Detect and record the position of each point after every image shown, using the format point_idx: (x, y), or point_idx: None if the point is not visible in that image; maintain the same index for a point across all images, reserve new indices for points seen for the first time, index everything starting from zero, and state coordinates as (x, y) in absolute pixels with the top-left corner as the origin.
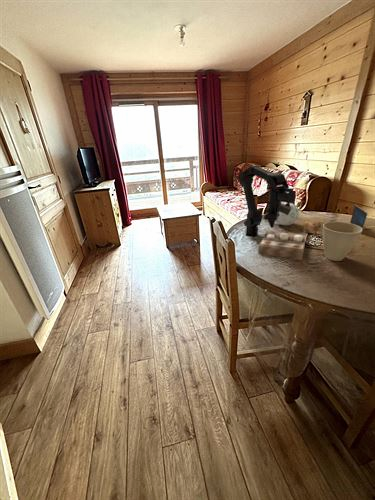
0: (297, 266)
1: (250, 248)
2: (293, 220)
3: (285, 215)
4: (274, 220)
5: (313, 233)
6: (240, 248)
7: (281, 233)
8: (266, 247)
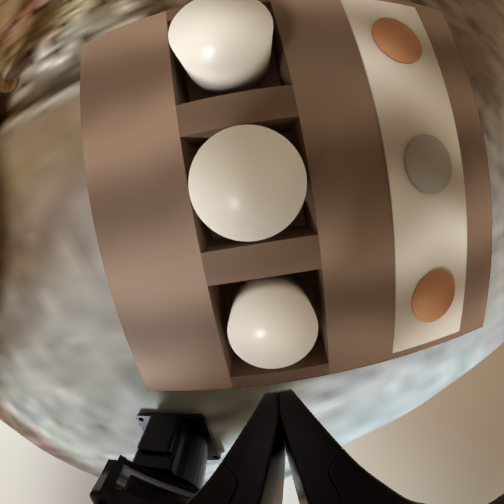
0: (478, 64)
1: (403, 368)
2: None
3: None
4: (389, 490)
5: (5, 85)
6: (413, 404)
7: (225, 230)
8: (485, 268)
